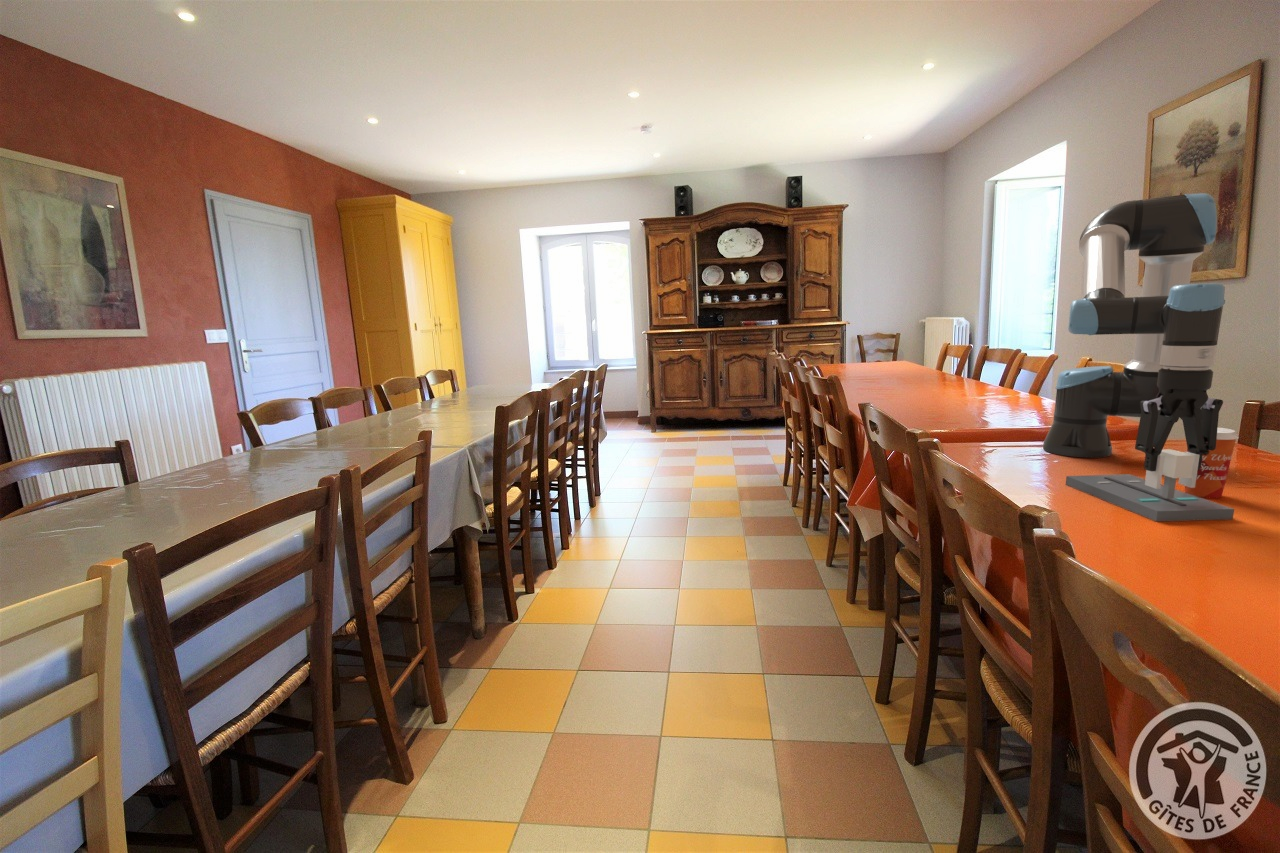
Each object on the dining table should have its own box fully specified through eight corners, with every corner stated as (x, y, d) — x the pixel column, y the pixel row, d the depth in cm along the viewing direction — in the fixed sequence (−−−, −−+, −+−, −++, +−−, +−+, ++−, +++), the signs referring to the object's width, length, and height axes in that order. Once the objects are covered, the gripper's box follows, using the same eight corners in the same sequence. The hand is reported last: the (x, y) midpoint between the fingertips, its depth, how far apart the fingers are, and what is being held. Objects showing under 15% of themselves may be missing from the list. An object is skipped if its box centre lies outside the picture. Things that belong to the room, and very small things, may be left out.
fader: (1148, 493, 115) (1154, 449, 114) (1164, 493, 115) (1170, 449, 114) (1170, 501, 110) (1177, 455, 109) (1187, 501, 110) (1194, 455, 109)
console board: (1065, 484, 131) (1066, 475, 131) (1128, 482, 131) (1129, 473, 130) (1156, 521, 108) (1157, 510, 107) (1232, 519, 107) (1234, 507, 107)
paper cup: (1185, 497, 120) (1194, 431, 117) (1172, 487, 126) (1181, 425, 124) (1236, 501, 116) (1247, 434, 113) (1220, 491, 123) (1230, 426, 120)
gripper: (1151, 371, 105) (1136, 493, 109) (1257, 367, 104) (1238, 490, 108) (1118, 368, 112) (1105, 482, 116) (1217, 364, 111) (1200, 479, 116)
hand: (1169, 485), depth 112 cm, fingers open, 6 cm apart
